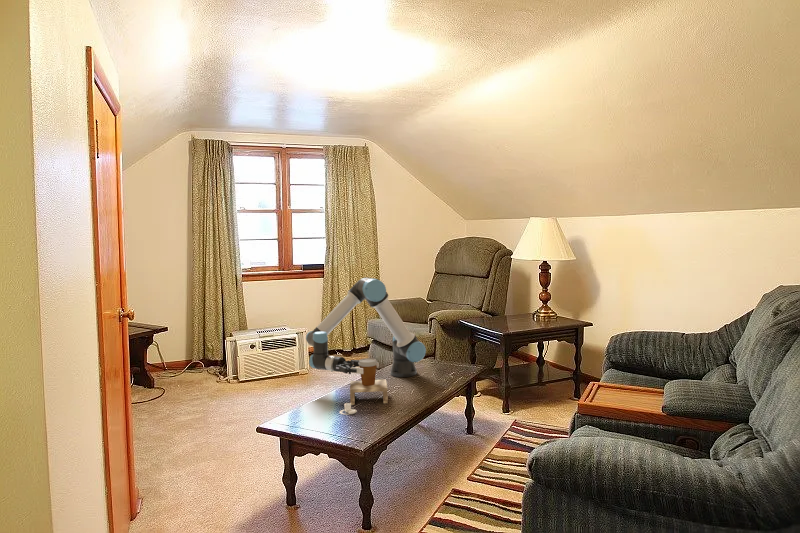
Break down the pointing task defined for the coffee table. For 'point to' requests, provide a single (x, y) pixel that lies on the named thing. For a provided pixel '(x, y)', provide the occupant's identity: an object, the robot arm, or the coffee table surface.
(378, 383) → the maple shelf
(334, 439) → the coffee table surface
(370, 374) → the disposable coffee cup
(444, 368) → the coffee table surface
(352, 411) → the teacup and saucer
